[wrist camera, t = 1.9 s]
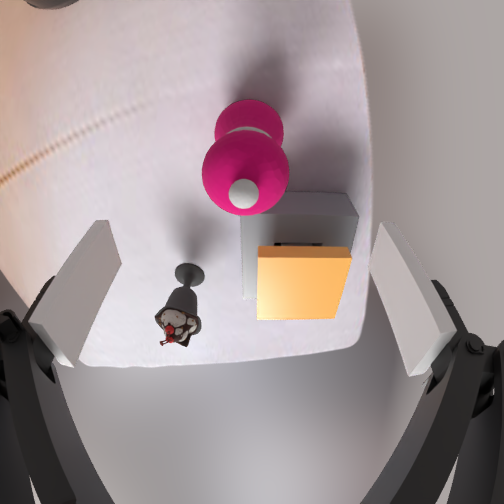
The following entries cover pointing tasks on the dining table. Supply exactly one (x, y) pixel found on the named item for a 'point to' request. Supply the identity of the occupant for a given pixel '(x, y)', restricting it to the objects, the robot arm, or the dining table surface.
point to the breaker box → (296, 228)
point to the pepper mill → (246, 159)
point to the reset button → (300, 281)
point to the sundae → (181, 307)
